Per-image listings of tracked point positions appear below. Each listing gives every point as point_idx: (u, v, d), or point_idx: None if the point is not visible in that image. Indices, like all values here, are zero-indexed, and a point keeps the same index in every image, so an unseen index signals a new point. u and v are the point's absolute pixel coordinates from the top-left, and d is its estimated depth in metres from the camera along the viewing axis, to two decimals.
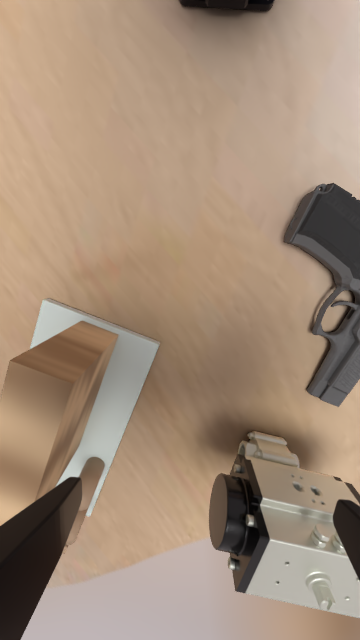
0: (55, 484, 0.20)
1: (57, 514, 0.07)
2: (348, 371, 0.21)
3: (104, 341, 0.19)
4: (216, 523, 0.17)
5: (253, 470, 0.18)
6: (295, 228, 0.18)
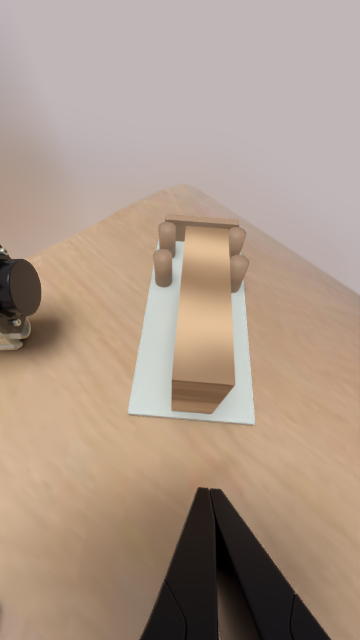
0: None
1: None
2: None
3: (177, 405, 0.19)
4: (24, 276, 0.18)
5: None
6: None
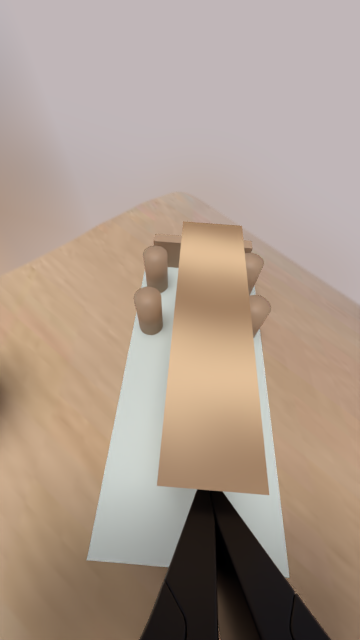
0: None
1: None
2: None
3: None
4: None
5: None
6: None
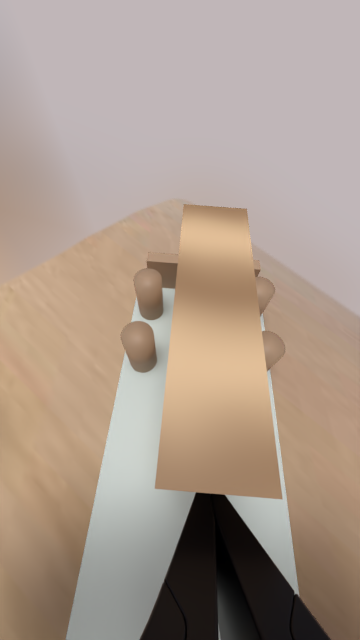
0: None
1: None
2: None
3: None
4: None
5: None
6: None
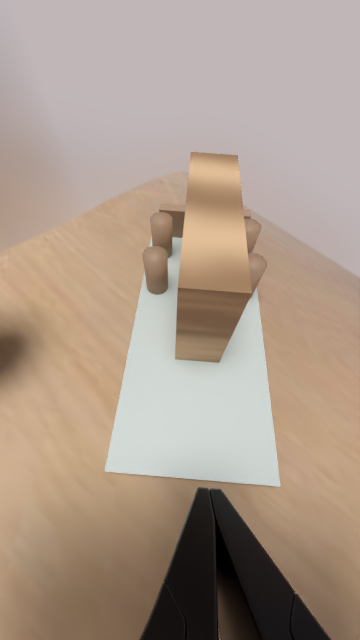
0: None
1: None
2: None
3: (182, 347, 0.17)
4: None
5: None
6: None
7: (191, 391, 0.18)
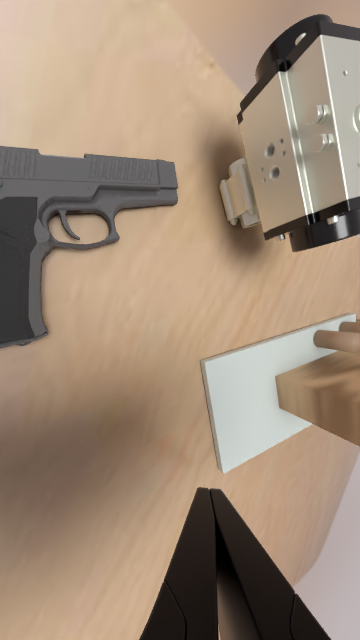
0: None
1: None
2: (135, 177, 0.17)
3: (295, 388, 0.23)
4: None
5: (279, 226, 0.16)
6: (30, 340, 0.15)
7: (259, 397, 0.24)
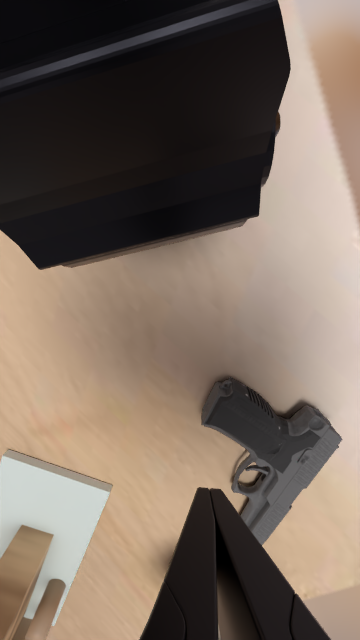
0: None
1: None
2: (262, 526, 0.23)
3: (35, 561, 0.23)
4: None
5: None
6: (204, 417, 0.20)
7: (46, 514, 0.25)
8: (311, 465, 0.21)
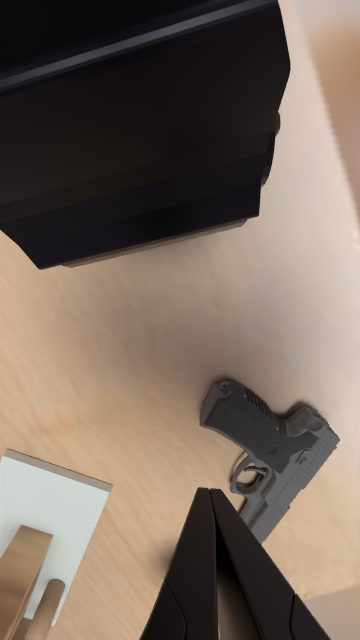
0: None
1: None
2: (261, 526, 0.23)
3: (34, 561, 0.23)
4: None
5: None
6: (202, 418, 0.20)
7: (46, 514, 0.25)
8: (309, 465, 0.21)
